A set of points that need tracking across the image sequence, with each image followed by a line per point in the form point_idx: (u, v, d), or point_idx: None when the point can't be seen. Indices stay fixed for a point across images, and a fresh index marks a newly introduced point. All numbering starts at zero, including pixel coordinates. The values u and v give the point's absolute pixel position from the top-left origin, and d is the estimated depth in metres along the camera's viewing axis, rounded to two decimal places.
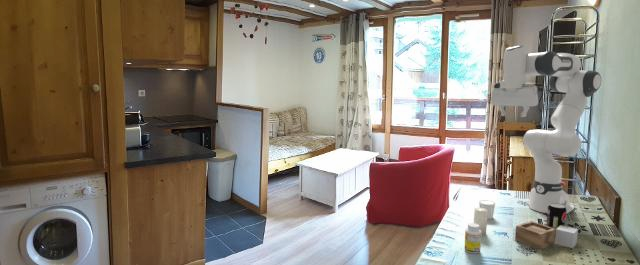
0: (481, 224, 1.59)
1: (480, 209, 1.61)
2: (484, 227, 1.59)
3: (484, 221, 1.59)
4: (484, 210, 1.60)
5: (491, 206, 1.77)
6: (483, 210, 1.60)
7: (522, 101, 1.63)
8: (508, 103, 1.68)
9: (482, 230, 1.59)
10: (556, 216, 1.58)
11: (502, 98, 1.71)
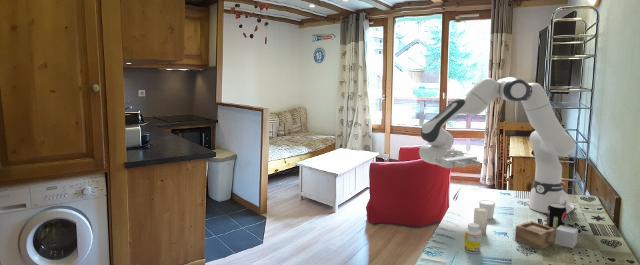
0: (481, 224, 1.59)
1: (480, 209, 1.61)
2: (484, 227, 1.59)
3: (484, 221, 1.59)
4: (484, 210, 1.60)
5: (491, 206, 1.77)
6: (483, 210, 1.60)
7: None
8: None
9: (482, 230, 1.59)
10: (556, 216, 1.58)
11: None
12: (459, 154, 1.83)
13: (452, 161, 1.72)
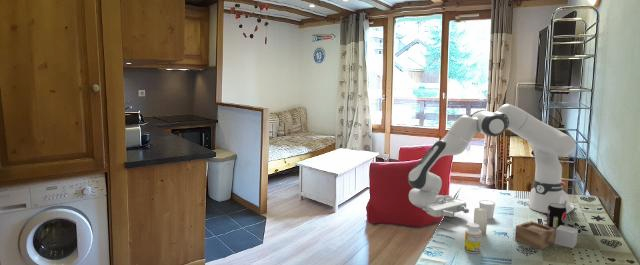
0: (481, 224, 1.59)
1: (480, 209, 1.61)
2: (484, 227, 1.59)
3: (484, 221, 1.59)
4: (484, 210, 1.60)
5: (491, 206, 1.77)
6: (483, 210, 1.60)
7: None
8: None
9: (482, 230, 1.59)
10: (556, 216, 1.58)
11: None
12: (448, 200, 1.81)
13: (440, 210, 1.70)
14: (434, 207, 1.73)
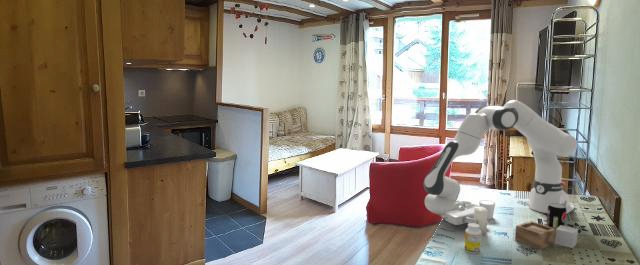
0: (481, 224, 1.59)
1: (480, 209, 1.61)
2: (484, 227, 1.59)
3: (484, 221, 1.59)
4: (484, 210, 1.60)
5: (491, 206, 1.77)
6: (483, 210, 1.60)
7: None
8: None
9: (482, 230, 1.59)
10: (556, 216, 1.58)
11: None
12: (468, 206, 1.72)
13: (460, 218, 1.61)
14: (454, 214, 1.63)
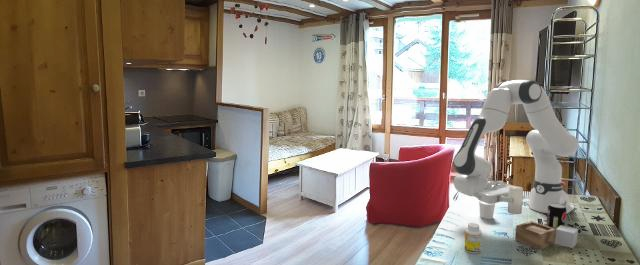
0: (517, 202, 1.52)
1: (515, 187, 1.54)
2: (520, 206, 1.53)
3: (520, 199, 1.52)
4: (520, 188, 1.53)
5: (491, 206, 1.77)
6: (518, 188, 1.53)
7: None
8: None
9: (517, 209, 1.53)
10: (556, 216, 1.58)
11: None
12: (500, 186, 1.65)
13: (495, 196, 1.54)
14: (487, 193, 1.56)
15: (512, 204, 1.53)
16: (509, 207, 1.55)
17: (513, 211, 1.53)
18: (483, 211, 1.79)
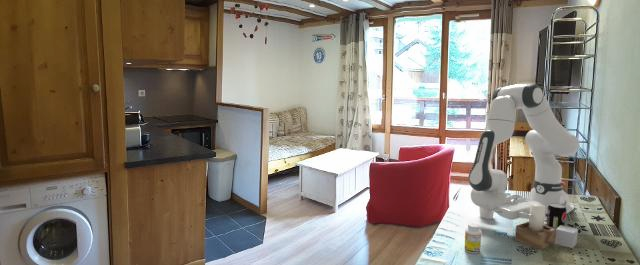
0: (538, 220, 1.49)
1: (537, 204, 1.51)
2: (542, 224, 1.50)
3: (542, 217, 1.49)
4: (541, 205, 1.50)
5: None
6: (540, 206, 1.50)
7: None
8: None
9: (539, 227, 1.50)
10: (556, 216, 1.58)
11: None
12: (520, 200, 1.62)
13: (516, 212, 1.51)
14: (508, 208, 1.53)
15: (534, 222, 1.50)
16: (530, 225, 1.52)
17: (534, 229, 1.50)
18: (483, 211, 1.79)
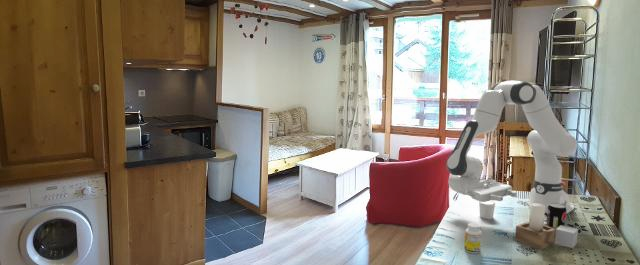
0: (538, 220, 1.49)
1: (537, 204, 1.51)
2: (542, 224, 1.50)
3: (542, 217, 1.49)
4: (541, 205, 1.50)
5: (491, 206, 1.77)
6: (540, 206, 1.50)
7: None
8: None
9: (539, 227, 1.50)
10: (556, 216, 1.58)
11: None
12: (493, 184, 1.73)
13: (487, 195, 1.63)
14: (480, 192, 1.65)
15: (534, 222, 1.50)
16: (530, 225, 1.52)
17: (534, 229, 1.50)
18: (483, 211, 1.79)
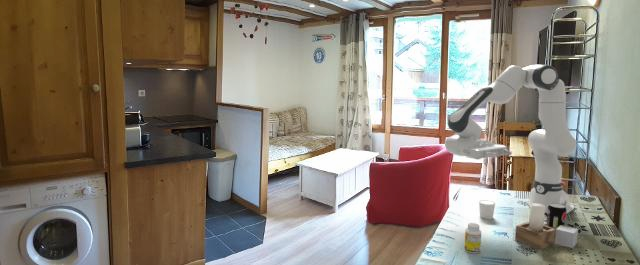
0: (538, 220, 1.49)
1: (537, 204, 1.51)
2: (542, 224, 1.50)
3: (542, 217, 1.49)
4: (541, 205, 1.50)
5: (491, 206, 1.77)
6: (540, 206, 1.50)
7: None
8: None
9: (539, 227, 1.50)
10: (556, 216, 1.58)
11: None
12: (488, 144, 1.75)
13: (482, 151, 1.64)
14: (476, 149, 1.67)
15: (534, 222, 1.50)
16: (530, 225, 1.52)
17: (534, 229, 1.50)
18: (483, 211, 1.79)
